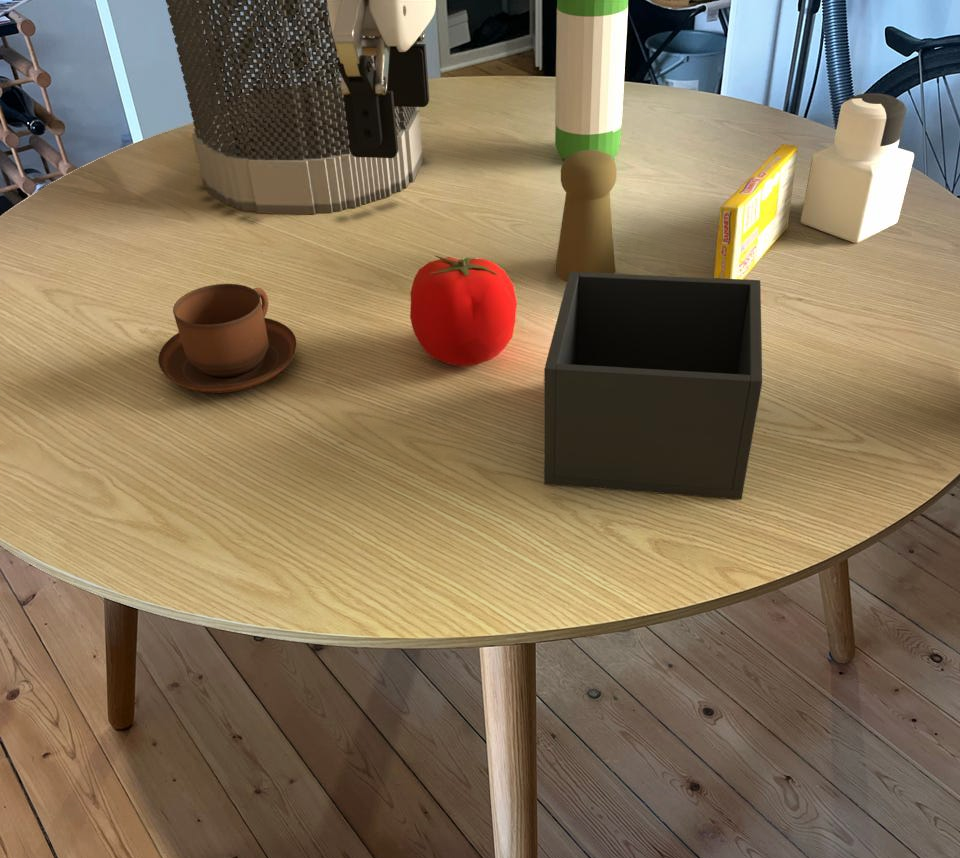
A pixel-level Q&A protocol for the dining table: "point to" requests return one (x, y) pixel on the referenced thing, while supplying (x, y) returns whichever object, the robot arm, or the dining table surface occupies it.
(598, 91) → the wine bottle
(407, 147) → the wastebasket
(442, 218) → the dining table surface
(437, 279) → the tomato
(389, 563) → the dining table surface
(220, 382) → the cup and saucer
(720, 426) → the bin
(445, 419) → the dining table surface
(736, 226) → the candy box
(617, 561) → the dining table surface
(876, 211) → the medicine bottle
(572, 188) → the brown pawn
